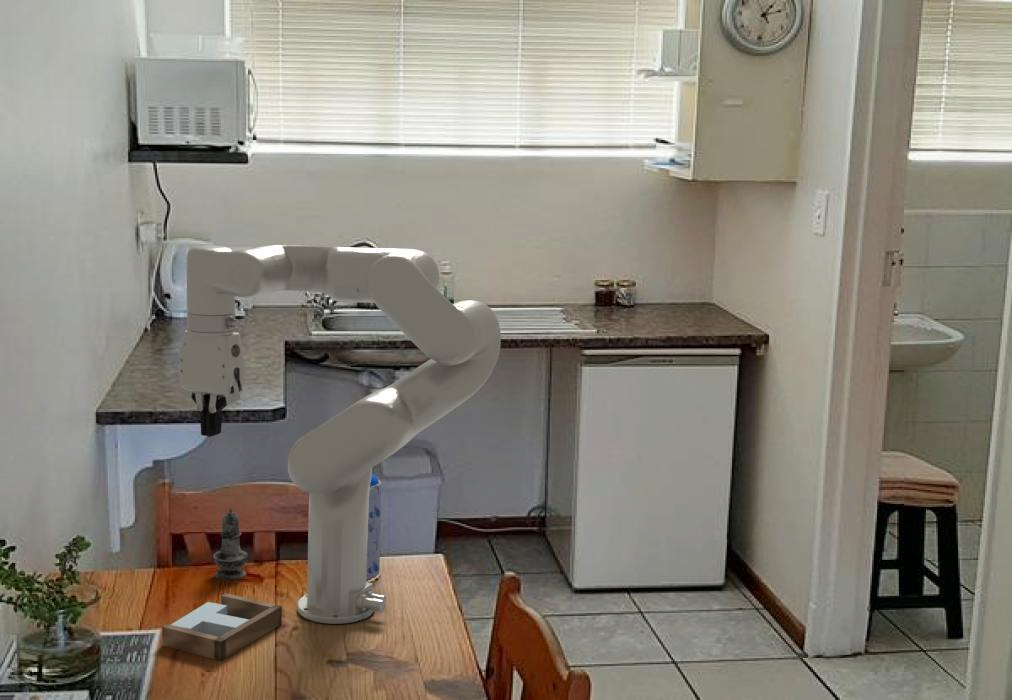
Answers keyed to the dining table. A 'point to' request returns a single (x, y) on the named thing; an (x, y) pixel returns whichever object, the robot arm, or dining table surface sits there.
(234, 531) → the grey stone statue
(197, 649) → the corral
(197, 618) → the t block
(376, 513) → the aerosol can
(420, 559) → the dining table surface
